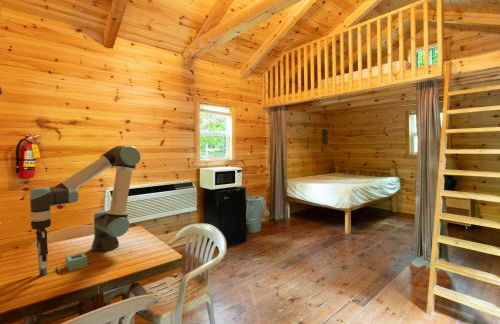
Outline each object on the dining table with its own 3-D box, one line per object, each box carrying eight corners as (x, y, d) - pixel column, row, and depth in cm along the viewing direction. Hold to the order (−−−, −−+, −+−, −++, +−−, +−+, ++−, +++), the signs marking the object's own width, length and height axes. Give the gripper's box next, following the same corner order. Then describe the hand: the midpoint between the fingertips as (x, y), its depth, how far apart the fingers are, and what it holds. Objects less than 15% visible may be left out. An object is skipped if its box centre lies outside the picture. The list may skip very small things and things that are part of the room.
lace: (55, 268, 135) (55, 266, 135) (58, 268, 136) (58, 266, 136) (58, 273, 130) (58, 271, 130) (60, 273, 130) (60, 271, 130)
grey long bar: (38, 274, 129) (37, 239, 128) (46, 272, 131) (45, 238, 130) (39, 276, 127) (38, 241, 126) (47, 274, 129) (46, 239, 128)
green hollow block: (66, 265, 139) (65, 256, 138) (83, 261, 144) (83, 252, 144) (69, 270, 133) (69, 261, 133) (87, 266, 139) (87, 256, 138)
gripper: (28, 216, 133) (30, 259, 134) (33, 225, 117) (35, 274, 118) (47, 214, 138) (48, 255, 139) (54, 222, 122) (56, 269, 124)
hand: (42, 264), depth 129 cm, fingers open, 10 cm apart
